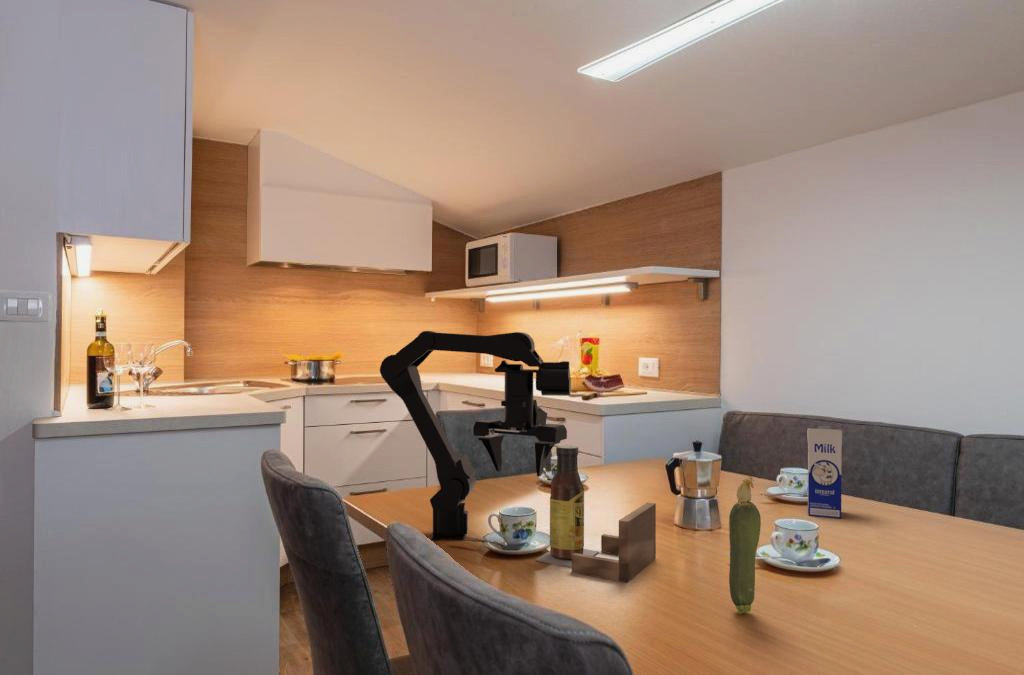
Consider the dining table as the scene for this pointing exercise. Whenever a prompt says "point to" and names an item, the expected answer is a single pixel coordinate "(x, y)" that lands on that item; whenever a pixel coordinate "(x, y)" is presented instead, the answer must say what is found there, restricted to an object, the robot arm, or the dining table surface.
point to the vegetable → (743, 547)
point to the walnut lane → (623, 548)
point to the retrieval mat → (562, 562)
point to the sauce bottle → (566, 506)
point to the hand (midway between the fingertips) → (518, 473)
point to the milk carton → (824, 472)
